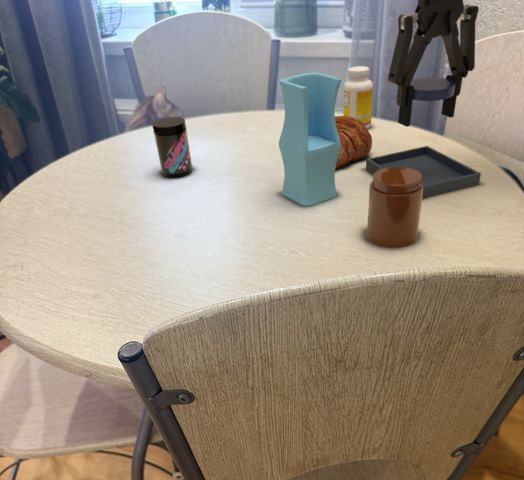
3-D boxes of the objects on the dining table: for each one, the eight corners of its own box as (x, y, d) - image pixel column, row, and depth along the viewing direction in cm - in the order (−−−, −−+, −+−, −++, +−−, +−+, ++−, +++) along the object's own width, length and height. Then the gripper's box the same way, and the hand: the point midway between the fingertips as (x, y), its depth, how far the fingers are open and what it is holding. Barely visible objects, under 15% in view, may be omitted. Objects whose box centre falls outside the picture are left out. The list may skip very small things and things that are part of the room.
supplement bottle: (375, 124, 129) (378, 65, 121) (363, 132, 125) (366, 72, 117) (350, 121, 132) (351, 64, 124) (338, 129, 128) (339, 71, 120)
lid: (394, 92, 96) (395, 82, 95) (435, 84, 98) (436, 74, 97) (421, 104, 90) (422, 93, 89) (464, 95, 92) (465, 84, 91)
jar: (427, 239, 84) (435, 179, 78) (382, 251, 83) (387, 190, 76) (400, 219, 90) (405, 162, 84) (358, 230, 88) (360, 172, 82)
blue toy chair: (305, 207, 97) (302, 88, 84) (281, 193, 102) (275, 80, 89) (339, 195, 100) (342, 78, 87) (314, 182, 105) (313, 71, 92)
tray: (479, 184, 99) (481, 173, 97) (412, 200, 96) (413, 189, 94) (425, 155, 111) (427, 145, 110) (365, 169, 108) (366, 159, 107)
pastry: (390, 163, 110) (393, 123, 105) (319, 175, 108) (319, 135, 102) (359, 138, 122) (360, 101, 117) (295, 148, 120) (294, 111, 115)
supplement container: (158, 179, 112) (148, 128, 106) (165, 167, 118) (155, 117, 111) (190, 177, 112) (182, 126, 105) (195, 165, 117) (187, 115, 110)
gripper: (485, -41, 88) (462, 104, 102) (371, -27, 83) (363, 124, 97) (517, -39, 82) (488, 114, 97) (397, -24, 77) (385, 136, 92)
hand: (425, 119), depth 97 cm, fingers closed on lid, 8 cm apart
